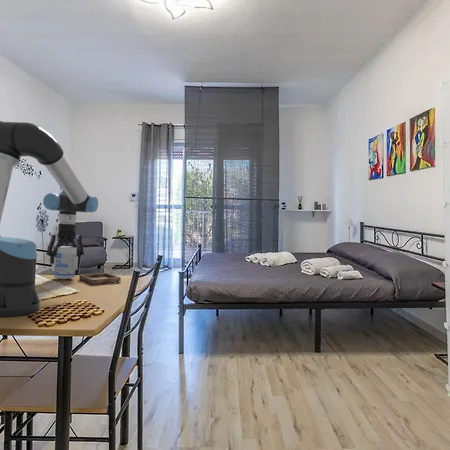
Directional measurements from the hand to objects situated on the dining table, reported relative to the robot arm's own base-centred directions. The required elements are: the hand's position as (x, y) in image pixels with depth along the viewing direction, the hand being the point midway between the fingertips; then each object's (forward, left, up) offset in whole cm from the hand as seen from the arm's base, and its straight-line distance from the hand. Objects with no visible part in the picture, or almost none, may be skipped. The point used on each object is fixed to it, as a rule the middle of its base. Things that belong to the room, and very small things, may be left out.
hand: (64, 269), depth 168 cm
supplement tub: (0, 0, -4) cm, 4 cm away
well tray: (+12, -12, -5) cm, 18 cm away
